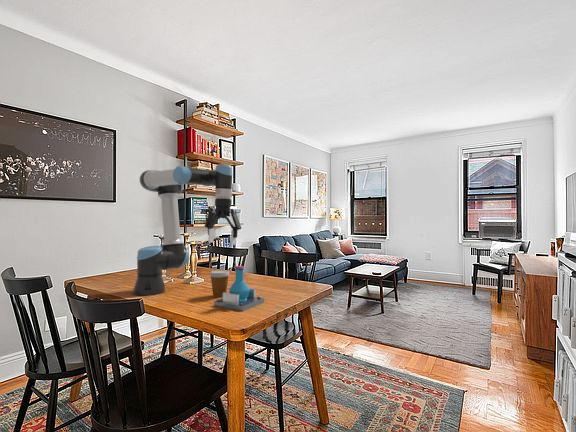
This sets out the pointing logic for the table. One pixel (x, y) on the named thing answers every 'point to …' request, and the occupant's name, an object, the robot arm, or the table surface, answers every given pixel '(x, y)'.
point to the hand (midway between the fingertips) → (221, 243)
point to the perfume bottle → (240, 284)
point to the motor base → (233, 301)
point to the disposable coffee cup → (219, 282)
